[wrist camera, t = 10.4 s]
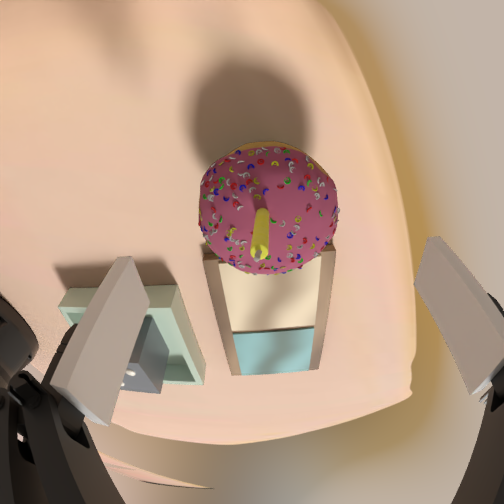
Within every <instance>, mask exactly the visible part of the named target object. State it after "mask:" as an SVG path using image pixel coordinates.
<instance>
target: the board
mask: <svg viewBox="0 0 504 504" xmlns="http://www.w3.org/2000/svg"><path fill="white" fill-rule="evenodd" d="M215 254H216V253H209V254H204V257H203V265H204V269H205V274H206V278H207V282H208V286H209V291H210V295H211V299H212V303H213V307H214V311H215V315H216V319H217V323H218V327H219V331H220V334H221V338H222V342H223V346H224V349H225V353H226V357H227V360H228V364H229V367H230V371H231V374H232V376H234V375H261V374H276V373H288V372H299V371H308V370H315V369H319V364H320V358H321V353H322V348H323V342H324V336H325V331H326V324H327V318H328V312H329V305H330V298H331V291H332V283H333V275H334V266H335V257H336V249H335V247H334V245H333V244H331V245H326V246H325V247H324V249H323V250H322V251H321V252H320V253H319V255H318V256H317V257H316V258H313V259H312V260H311V261H309V262H307V263H306V264H304V265H303V266H302V267H301V268H302V269H298V268H296V269H294V270H292V271H290V272H286V273H285V272H284V273H285V274H283V273H281V274H280V273H279V274H278V275H274V274H269V275H267V274H257V275H253V274H252V273H250V274H246V273H245V272H243V271H240V270H238V269H236V268H235V267H233V266H231V265H229V264H228V263H227V262H225V261H224V260H223V261H222V260H220V259H219V257H218V256H216V255H215Z"/></svg>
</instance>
